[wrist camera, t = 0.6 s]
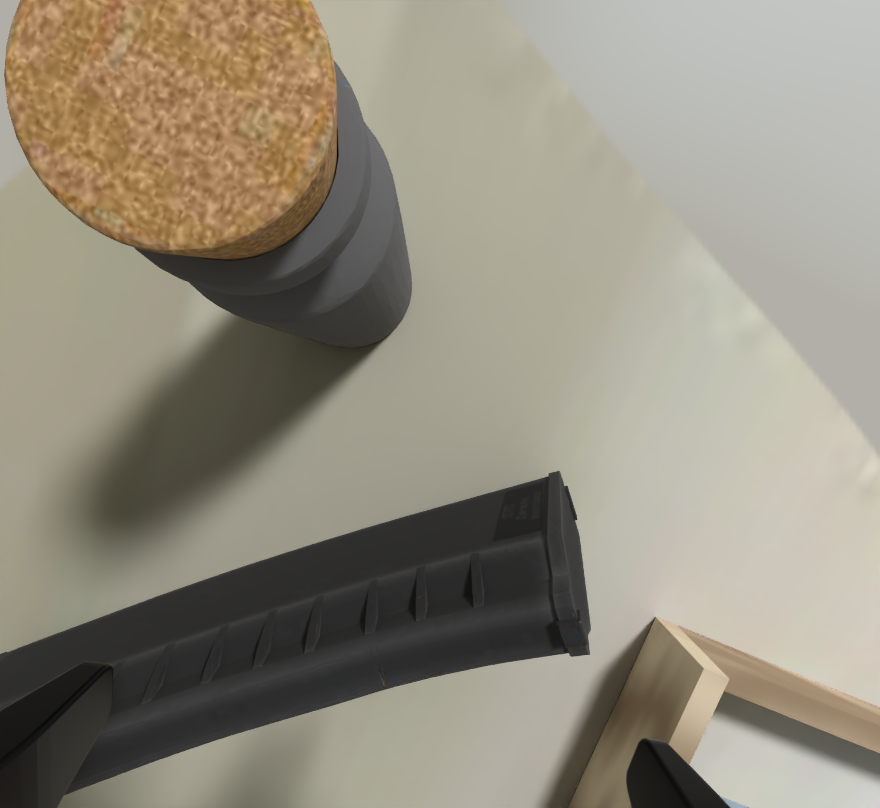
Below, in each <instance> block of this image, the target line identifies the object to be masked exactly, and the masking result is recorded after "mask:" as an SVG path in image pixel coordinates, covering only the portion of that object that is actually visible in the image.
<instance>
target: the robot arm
mask: <svg viewBox="0 0 880 808" xmlns="http://www.w3.org/2000/svg"><path fill="white" fill-rule="evenodd" d="M113 676H114V671H113V667H112V665H111V664H108V663H101V662H94V661H85V662H82V663H80V664H78V665H76V666H74V667H73V668H71V669H69V670H68V671H66V672H64V673H62V674H61V675H59V676H57V677H56V678H54V679H52V680H51V681H49V682H47V683H45V684H44V685H42V686H40V687H39V688H37V689H35V690H34V691H32V692H30V693H28V694H27V695H25V696H23V697H22V698H20V699H18V700H17V701H15V702H13V703H11V704H10V705H8V706H6V707H5V708H3V709H1V710H0V808H57V806H58V805H59V803H60V801H61V799H62V798H63V796H64V794H65V792H66V791H67V789H68V787H69V785H70V784H71V782H72V780H73V778H74V777H75V775H76V773H77V771H78V770H79V768H80V766H81V764H82V763H83V761H84V759H85V757H86V756H87V754H88V752H89V750H90V749H91V747H92V745H93V743H94V742H95V740H96V738H97V736H98V735H99V733H100V731H101V729H102V728H103V726H104V724H105V722H106V720H107V718H108V716H109V714H110V711H111V708H112V702H113ZM626 785H627V791H628V795H629V799H630V804H631V808H731V807H730V806H729V805H728V804H727V803H726V802H725V801H724V800H723V799H722V798H721V797H720V796H719V795H718V794H717V793H716V792H715V791H714V790H713V789H712V788H711V787H710V786H709V785H708V784H707V783H706V782H705V781H704V780H703V779H702V778H701V777H700V776H699V775H698V774H697V773H696V771H695V770H694V769H693V768H692V767H691V766H690V765H689V764H688V763H687V762H686V761H685V760H684V759H683V758H682V757H681V756H680V755H679V754H678V753H677V752H676V751H675V750H674V749H673V748H672V747H671V746H670V745H669V744H668V743H666V742H665V741H662V740H657V739H650V738H642V739H641V740H640V741H639V742H638V744H637V747H636V749H635V752H634V754H633V757H632V759H631V762H630V764H629V767H628V769H627V774H626Z"/></svg>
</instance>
